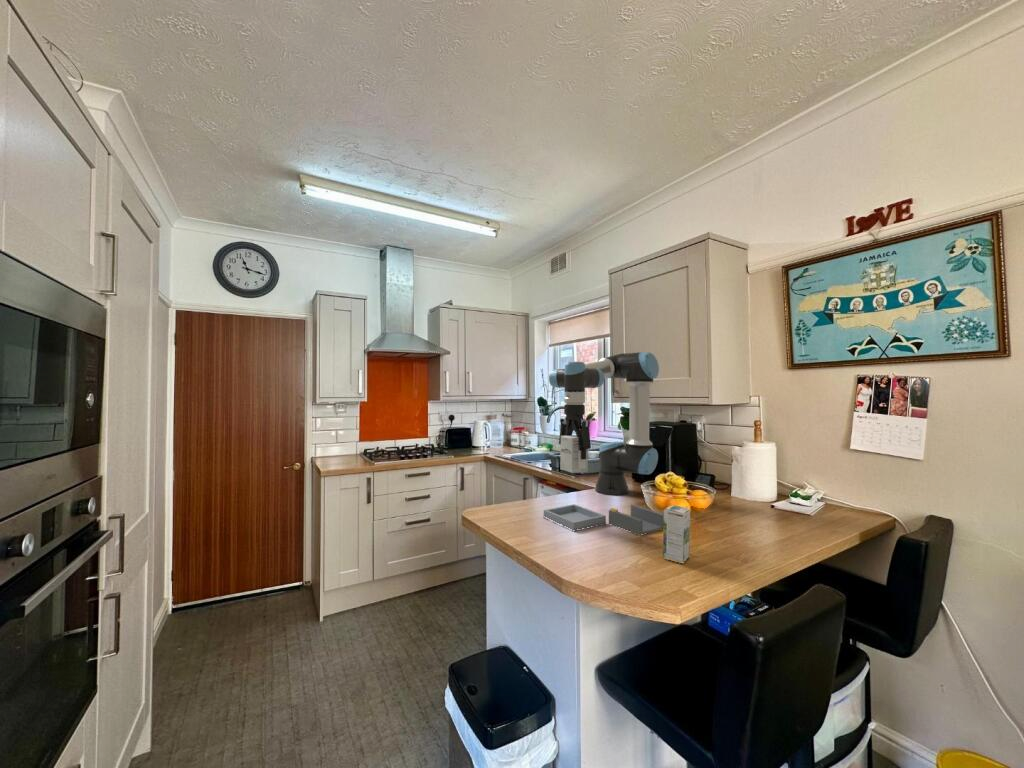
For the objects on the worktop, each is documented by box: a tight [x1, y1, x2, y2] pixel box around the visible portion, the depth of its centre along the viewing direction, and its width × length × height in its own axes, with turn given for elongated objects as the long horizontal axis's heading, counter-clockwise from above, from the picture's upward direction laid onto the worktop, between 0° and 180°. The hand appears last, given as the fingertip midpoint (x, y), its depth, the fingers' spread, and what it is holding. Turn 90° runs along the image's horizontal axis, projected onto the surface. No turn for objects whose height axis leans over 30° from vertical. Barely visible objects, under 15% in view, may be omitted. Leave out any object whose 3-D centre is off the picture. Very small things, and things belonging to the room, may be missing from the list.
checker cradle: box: [608, 504, 664, 535], centre depth 146 cm, size 13×14×6 cm
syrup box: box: [662, 505, 691, 562], centre depth 119 cm, size 6×6×14 cm
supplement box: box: [559, 434, 589, 474], centre depth 152 cm, size 7×7×13 cm
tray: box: [543, 503, 607, 530], centre depth 152 cm, size 15×17×3 cm
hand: (574, 466), depth 152 cm, fingers closed on supplement box, 7 cm apart
